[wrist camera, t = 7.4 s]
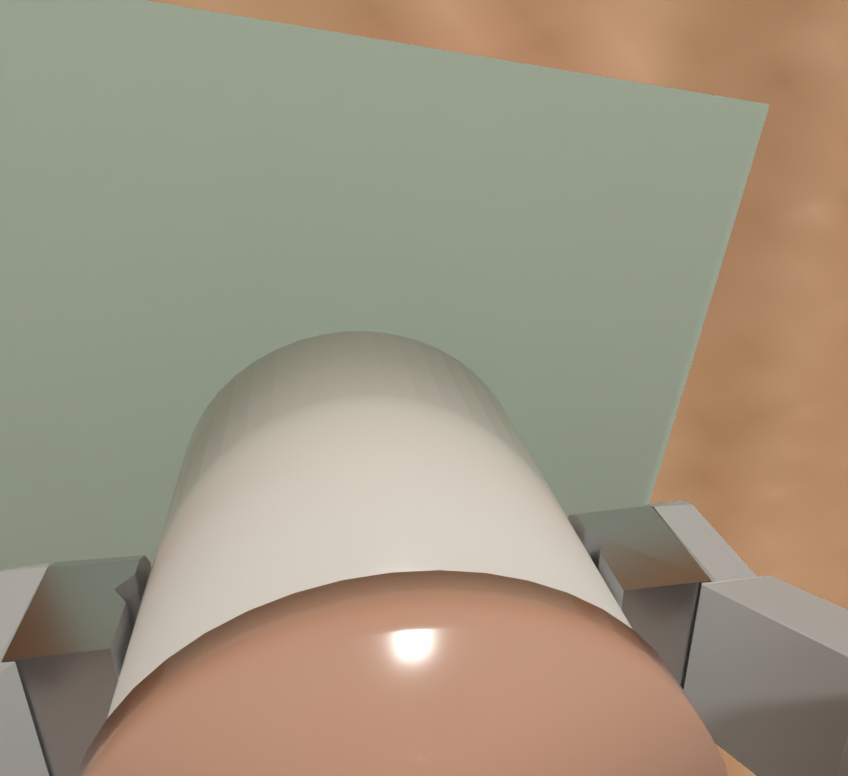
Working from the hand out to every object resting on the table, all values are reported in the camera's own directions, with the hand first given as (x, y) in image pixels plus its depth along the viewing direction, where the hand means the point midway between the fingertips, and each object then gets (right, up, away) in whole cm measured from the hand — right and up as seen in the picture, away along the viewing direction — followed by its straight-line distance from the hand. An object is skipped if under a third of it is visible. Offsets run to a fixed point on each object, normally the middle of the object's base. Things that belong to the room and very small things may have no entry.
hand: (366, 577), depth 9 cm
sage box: (-1, +4, +8) cm, 9 cm away
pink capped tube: (0, +1, +2) cm, 2 cm away
